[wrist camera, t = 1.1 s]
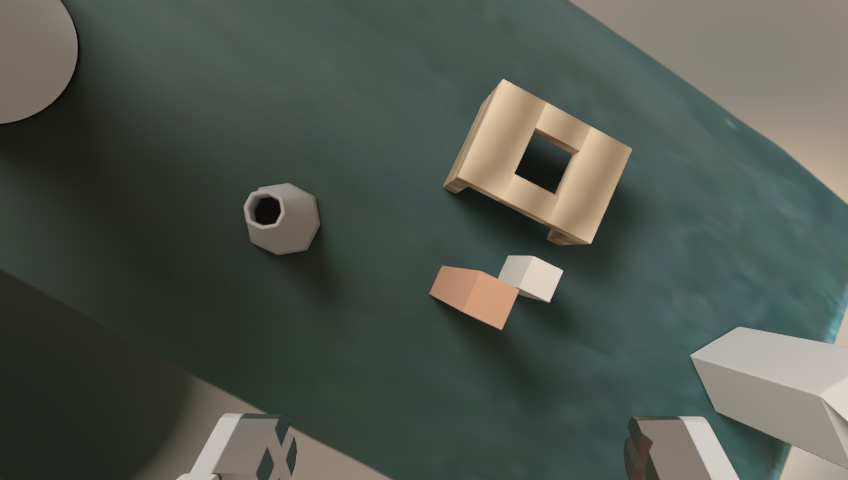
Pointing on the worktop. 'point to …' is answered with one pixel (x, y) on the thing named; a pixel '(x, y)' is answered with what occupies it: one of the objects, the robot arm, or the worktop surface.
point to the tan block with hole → (504, 147)
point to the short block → (531, 276)
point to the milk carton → (781, 388)
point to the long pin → (475, 294)
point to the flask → (282, 218)
